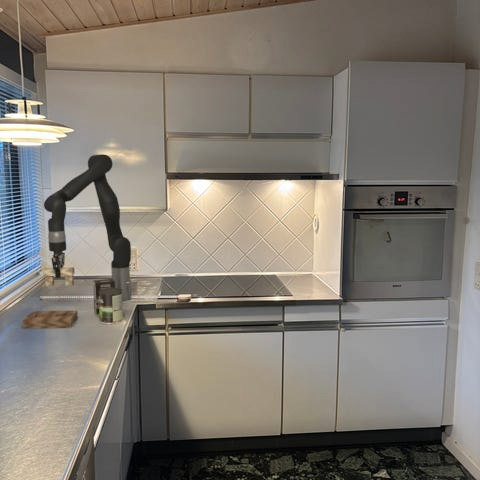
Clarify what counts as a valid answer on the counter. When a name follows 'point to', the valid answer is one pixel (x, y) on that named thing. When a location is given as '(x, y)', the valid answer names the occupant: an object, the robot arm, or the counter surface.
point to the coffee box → (98, 286)
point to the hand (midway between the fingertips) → (59, 276)
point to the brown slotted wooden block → (50, 319)
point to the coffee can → (110, 305)
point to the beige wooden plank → (65, 271)
